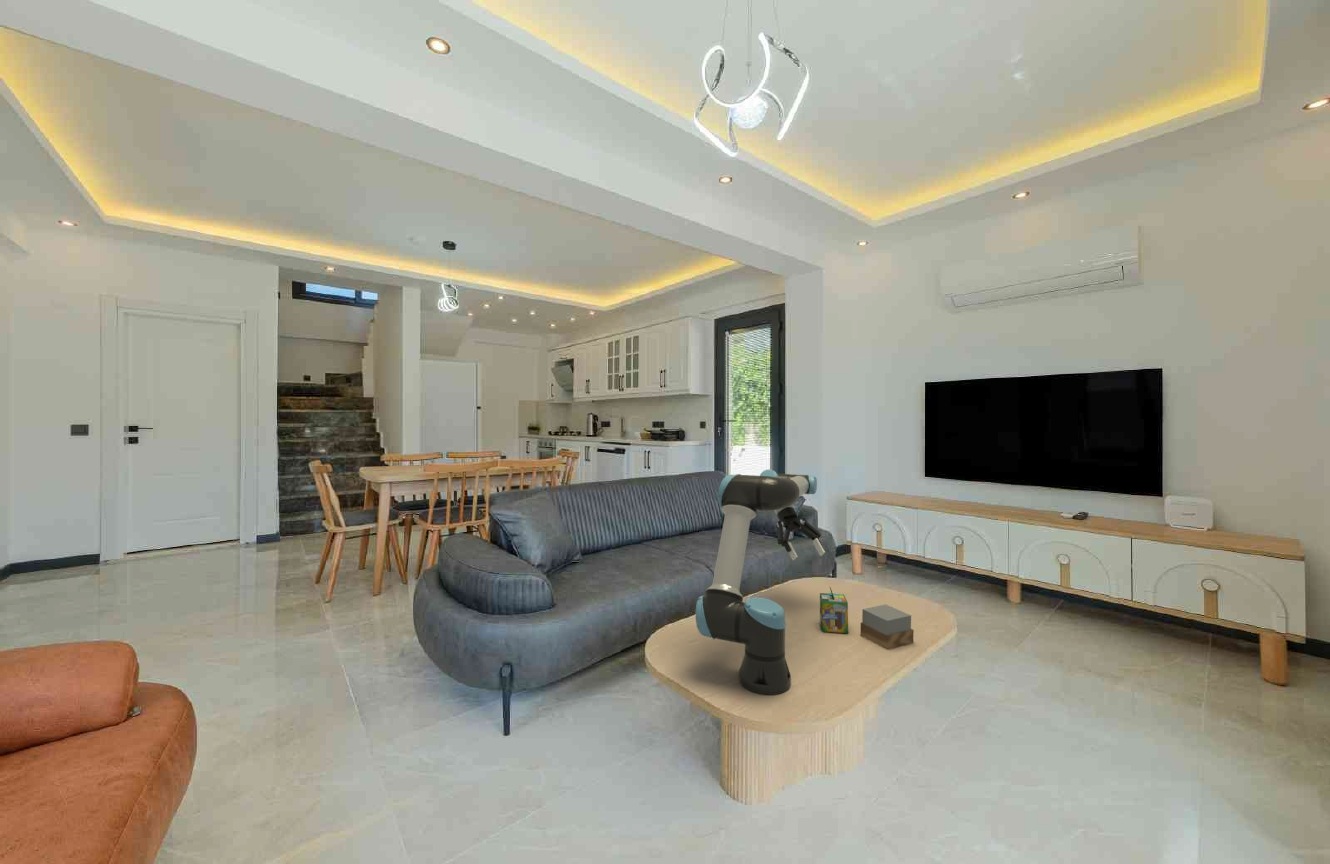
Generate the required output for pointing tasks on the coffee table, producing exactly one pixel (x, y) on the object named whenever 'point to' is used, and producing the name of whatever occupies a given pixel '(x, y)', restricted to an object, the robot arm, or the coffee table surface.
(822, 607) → the chalk box
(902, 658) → the coffee table surface
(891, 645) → the tower bottom slab
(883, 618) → the tower top slab
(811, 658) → the coffee table surface
